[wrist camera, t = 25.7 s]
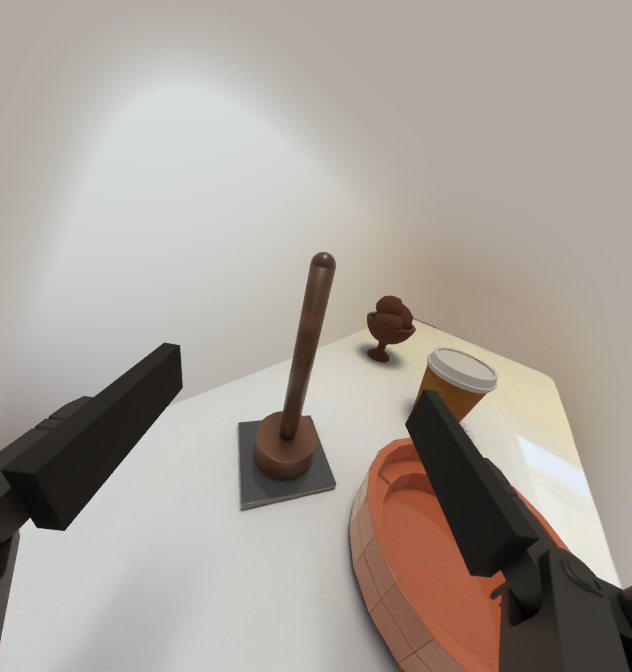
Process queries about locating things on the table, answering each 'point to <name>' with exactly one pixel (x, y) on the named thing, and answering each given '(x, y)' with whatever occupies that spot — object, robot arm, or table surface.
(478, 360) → the disposable coffee cup
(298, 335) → the paper towel holder
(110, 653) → the table surface
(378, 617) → the terracotta round bowl
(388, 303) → the ice cream bowl
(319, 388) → the table surface
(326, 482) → the dark grey square tile
